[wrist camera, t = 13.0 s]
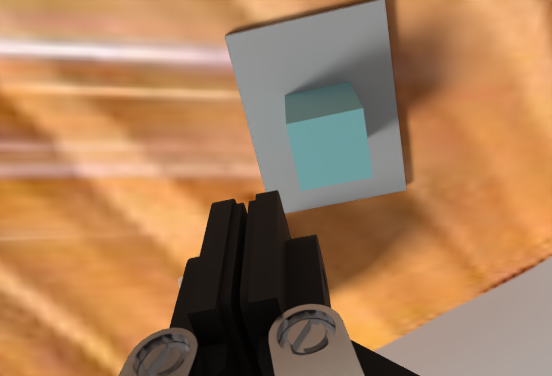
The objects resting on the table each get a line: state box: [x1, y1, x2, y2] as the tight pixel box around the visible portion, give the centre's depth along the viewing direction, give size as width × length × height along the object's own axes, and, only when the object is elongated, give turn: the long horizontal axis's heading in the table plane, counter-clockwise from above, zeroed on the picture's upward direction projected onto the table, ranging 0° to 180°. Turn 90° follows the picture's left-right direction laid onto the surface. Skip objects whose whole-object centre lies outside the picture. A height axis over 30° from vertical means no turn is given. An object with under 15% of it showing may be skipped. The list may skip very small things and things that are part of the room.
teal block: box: [284, 82, 373, 191], centre depth 37 cm, size 5×5×7 cm
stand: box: [225, 0, 406, 214], centre depth 38 cm, size 16×12×6 cm
